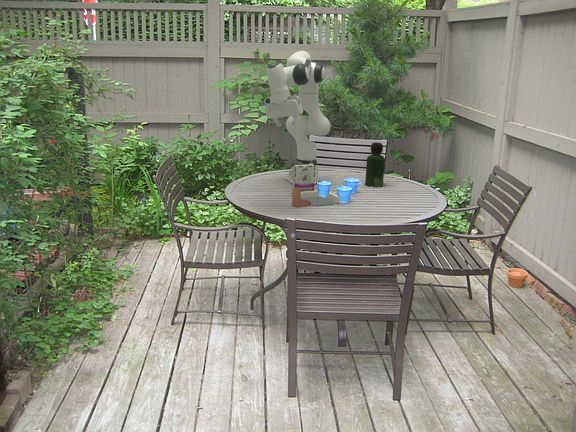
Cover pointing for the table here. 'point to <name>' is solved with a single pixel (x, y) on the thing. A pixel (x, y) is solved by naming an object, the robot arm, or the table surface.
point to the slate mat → (319, 201)
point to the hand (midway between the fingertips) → (287, 125)
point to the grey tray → (316, 194)
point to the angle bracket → (297, 201)
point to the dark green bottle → (375, 166)
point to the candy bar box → (304, 177)
